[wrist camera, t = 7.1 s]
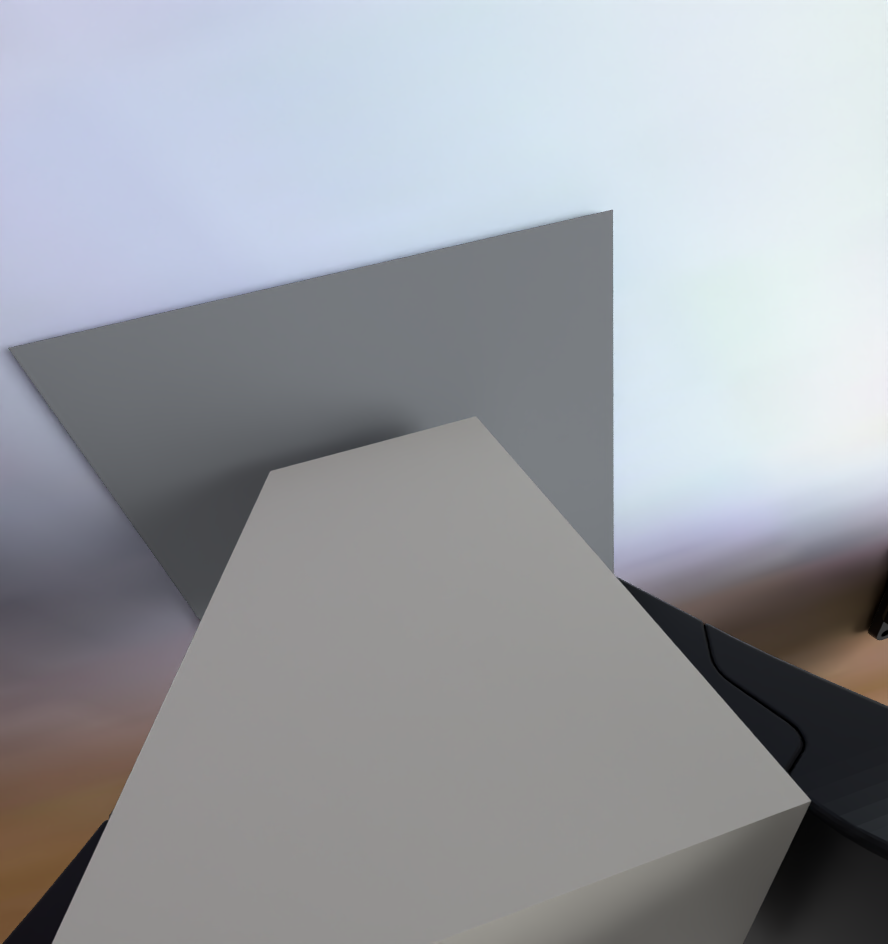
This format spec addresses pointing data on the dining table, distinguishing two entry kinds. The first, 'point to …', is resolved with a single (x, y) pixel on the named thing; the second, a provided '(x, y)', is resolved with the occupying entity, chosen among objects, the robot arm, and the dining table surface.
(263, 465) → the mat
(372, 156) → the dining table surface
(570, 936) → the block
